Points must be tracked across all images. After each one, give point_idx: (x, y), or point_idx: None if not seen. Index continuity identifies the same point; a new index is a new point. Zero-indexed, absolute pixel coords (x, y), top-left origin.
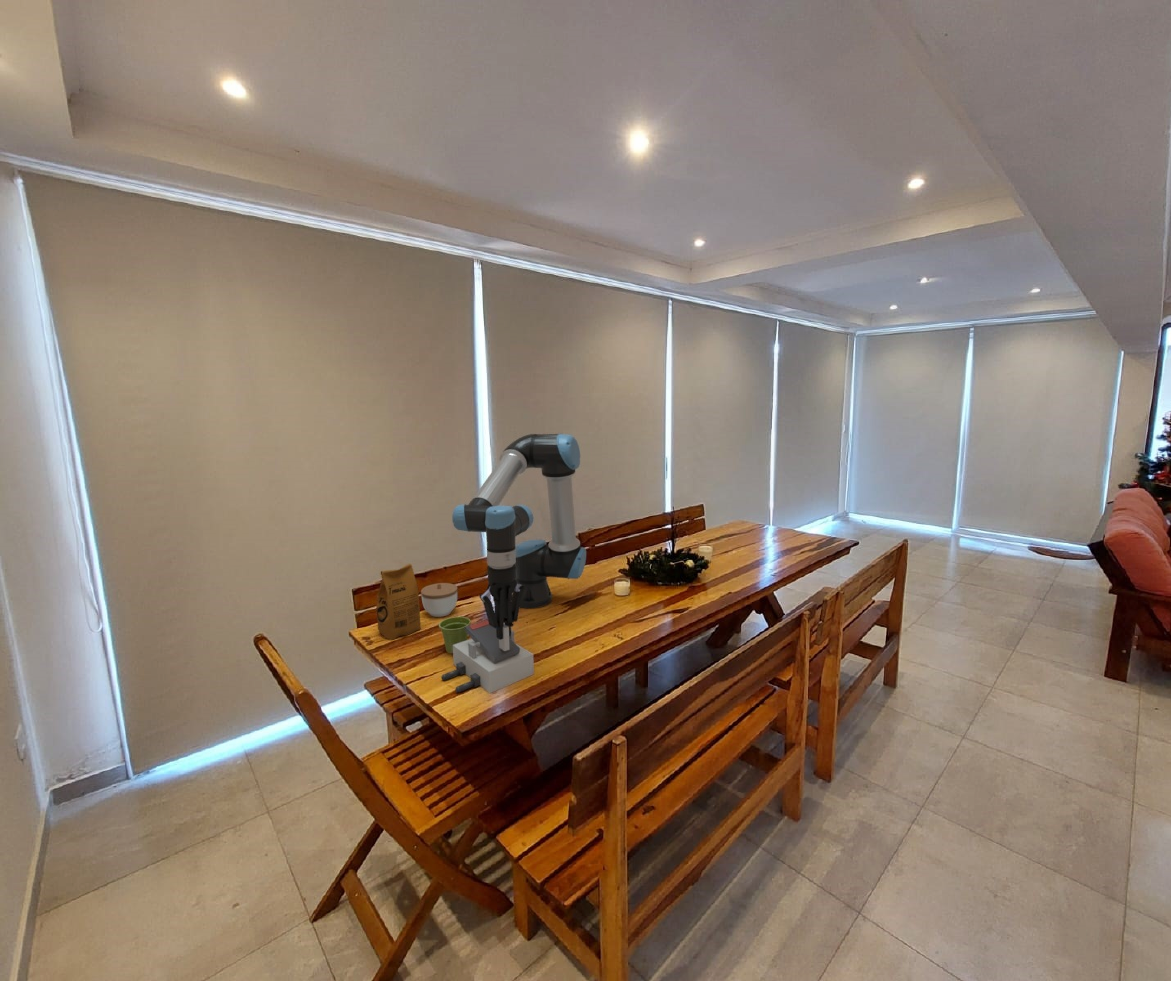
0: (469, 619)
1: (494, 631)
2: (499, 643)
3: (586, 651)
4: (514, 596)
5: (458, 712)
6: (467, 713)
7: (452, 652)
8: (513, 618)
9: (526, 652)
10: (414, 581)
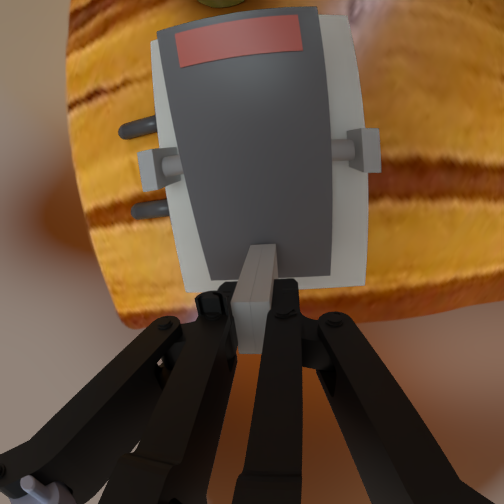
0: None
1: (289, 119)
2: (248, 255)
3: (499, 245)
4: (387, 489)
5: (127, 281)
6: (141, 295)
7: (201, 2)
8: (318, 373)
9: (355, 261)
10: None
